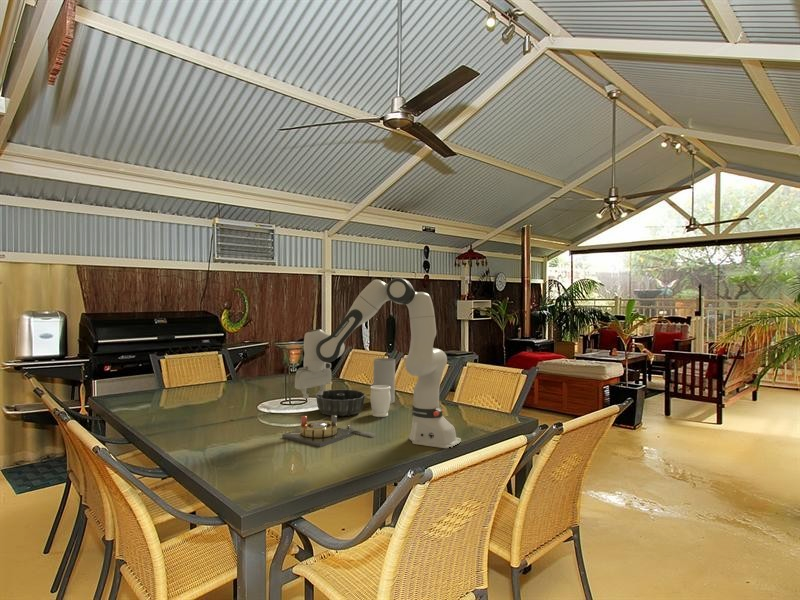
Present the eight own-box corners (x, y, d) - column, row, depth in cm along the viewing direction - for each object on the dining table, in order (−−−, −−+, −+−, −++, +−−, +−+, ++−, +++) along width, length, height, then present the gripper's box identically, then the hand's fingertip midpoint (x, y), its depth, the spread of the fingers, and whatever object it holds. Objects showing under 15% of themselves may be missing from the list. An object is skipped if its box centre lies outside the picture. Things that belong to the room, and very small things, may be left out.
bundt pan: (369, 418, 241) (369, 398, 241) (316, 420, 235) (316, 400, 235) (361, 406, 267) (362, 388, 267) (314, 408, 261) (314, 389, 261)
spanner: (376, 436, 210) (376, 429, 210) (371, 437, 207) (371, 431, 207) (348, 430, 218) (348, 424, 218) (344, 431, 216) (344, 425, 216)
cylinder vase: (375, 405, 270) (376, 361, 270) (371, 400, 282) (371, 358, 282) (396, 404, 273) (397, 360, 273) (391, 399, 285) (392, 358, 285)
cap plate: (354, 434, 211) (354, 422, 211) (320, 447, 193) (320, 433, 193) (317, 426, 224) (317, 414, 223) (282, 437, 205) (282, 425, 205)
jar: (391, 413, 251) (391, 385, 251) (389, 418, 241) (389, 388, 241) (371, 412, 252) (372, 384, 252) (368, 417, 242) (368, 388, 242)
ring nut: (326, 425, 219) (326, 410, 219) (344, 433, 207) (344, 417, 207) (294, 430, 210) (294, 414, 210) (310, 439, 197) (310, 422, 197)
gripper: (301, 368, 202) (301, 401, 202) (333, 363, 219) (333, 393, 219) (291, 367, 206) (291, 399, 206) (323, 362, 223) (323, 392, 223)
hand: (313, 396), depth 213 cm, fingers open, 8 cm apart
